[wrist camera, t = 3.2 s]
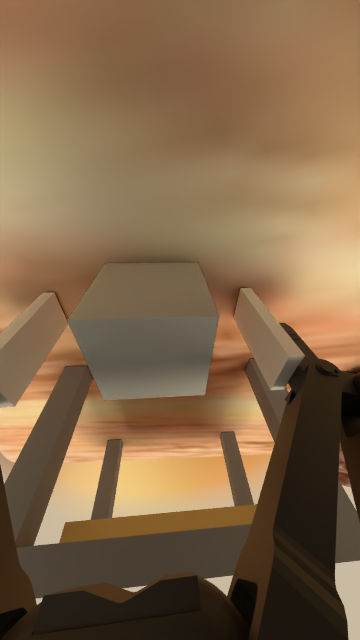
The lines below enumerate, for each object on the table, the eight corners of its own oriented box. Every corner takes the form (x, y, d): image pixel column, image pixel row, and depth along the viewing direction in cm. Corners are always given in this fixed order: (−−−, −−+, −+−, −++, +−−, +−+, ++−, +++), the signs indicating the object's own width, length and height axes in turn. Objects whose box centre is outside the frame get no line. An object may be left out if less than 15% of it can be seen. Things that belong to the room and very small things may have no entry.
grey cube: (105, 262, 12) (67, 320, 7) (198, 261, 12) (219, 315, 8) (122, 332, 16) (103, 400, 11) (192, 329, 16) (204, 394, 11)
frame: (65, 366, 18) (-61, 610, 8) (268, 358, 19) (382, 557, 9) (110, 445, 30) (84, 577, 20) (231, 436, 31) (263, 557, 21)
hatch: (65, 522, 12) (58, 547, 11) (277, 502, 13) (285, 523, 12) (110, 544, 20) (108, 559, 19) (237, 531, 21) (240, 545, 20)
